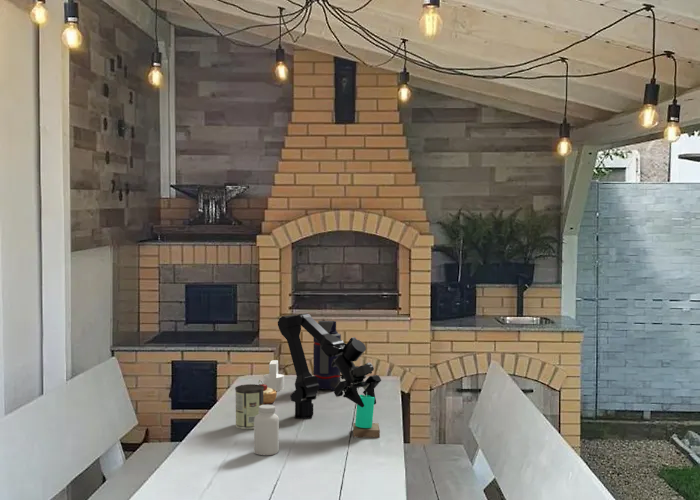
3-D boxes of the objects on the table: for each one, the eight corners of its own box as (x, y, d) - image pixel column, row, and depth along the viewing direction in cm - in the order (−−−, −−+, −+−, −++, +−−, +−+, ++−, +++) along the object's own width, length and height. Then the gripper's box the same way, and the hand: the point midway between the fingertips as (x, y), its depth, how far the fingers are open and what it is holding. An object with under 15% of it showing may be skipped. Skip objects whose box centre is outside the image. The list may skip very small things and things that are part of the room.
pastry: (258, 407, 317) (258, 385, 317) (241, 402, 326) (241, 380, 326) (282, 403, 325) (282, 381, 325) (265, 397, 334) (265, 376, 333)
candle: (373, 428, 278) (376, 394, 278) (355, 427, 277) (359, 393, 277) (370, 424, 284) (374, 391, 284) (354, 423, 283) (357, 389, 283)
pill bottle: (282, 450, 261) (282, 404, 261) (272, 457, 254) (272, 410, 253) (260, 447, 264) (260, 402, 263) (249, 454, 256) (249, 408, 256)
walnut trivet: (353, 437, 277) (353, 430, 277) (353, 430, 286) (353, 423, 286) (379, 437, 277) (379, 430, 277) (378, 430, 286) (378, 423, 286)
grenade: (315, 385, 359) (316, 318, 357) (342, 386, 357) (342, 319, 355) (310, 392, 345) (310, 322, 343) (337, 393, 343) (337, 323, 342)
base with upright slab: (283, 391, 345) (283, 364, 344) (262, 391, 345) (262, 364, 345) (284, 387, 354) (285, 360, 353) (264, 387, 354) (264, 360, 354)
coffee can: (251, 420, 298) (251, 382, 297) (269, 425, 291) (269, 387, 290) (229, 425, 290) (229, 387, 290) (247, 431, 283) (247, 391, 283)
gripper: (339, 358, 276) (361, 395, 269) (377, 352, 289) (399, 387, 282) (324, 377, 283) (345, 414, 275) (362, 371, 295) (383, 406, 288)
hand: (369, 405), depth 280 cm, fingers closed on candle, 5 cm apart
